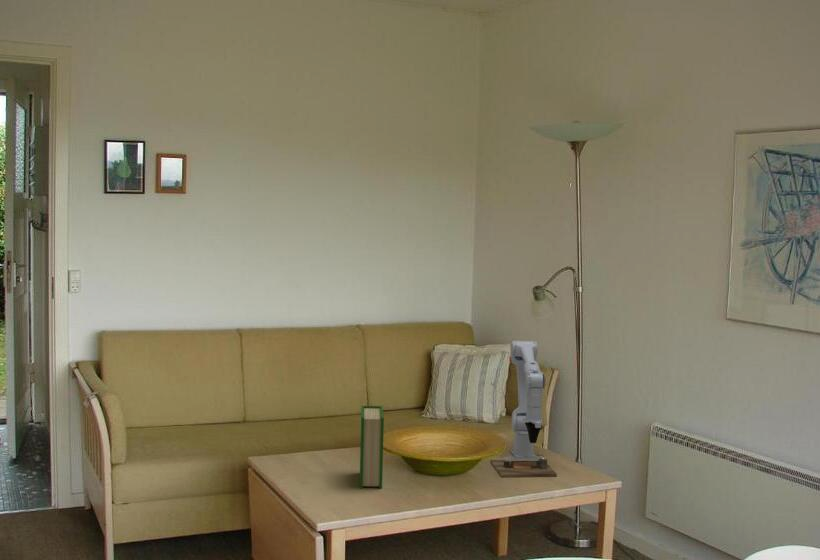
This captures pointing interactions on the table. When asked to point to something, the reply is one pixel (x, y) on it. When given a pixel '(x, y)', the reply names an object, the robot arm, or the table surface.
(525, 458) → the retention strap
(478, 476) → the table surface
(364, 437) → the hardback book
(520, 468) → the strap board
